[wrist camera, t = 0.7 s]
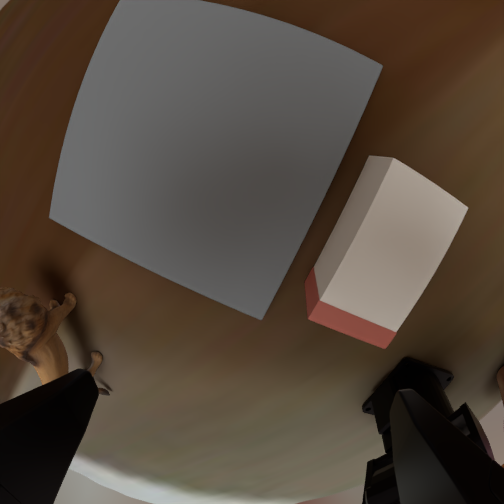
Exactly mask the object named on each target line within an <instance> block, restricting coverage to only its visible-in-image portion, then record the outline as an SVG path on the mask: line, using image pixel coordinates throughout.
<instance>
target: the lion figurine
mask: <svg viewBox="0 0 504 504" xmlns="http://www.w3.org/2000/svg"><path fill="white" fill-rule="evenodd" d="M76 302H77V300H76V297H75V296H74V295H73V294H72V293H68V294H65V301H64V302H63V304H62V305H61V306H60V305H59V303H58V302H57V301H56V300H51V302H50V304H49V305H50V308H51V310H50V311H47V309H46V308H45V307H44V306H43V305H42V304H41V301H40V300H39V298H38V297H35V296H34V295H30V296H28V295H25V294H23V293H22V292H20V291H17V290H15V289H14V288H0V346H1V347H2V348H6V349H7V350H9V351H10V352H11V353H13V354H15V355H16V357H17V358H19V359H21V360H24V361H26V362H30V363H31V364H32V365H33V366H34V368H35V369H36V371H37V373H38V375H39V377H40V379H41V382H42V385H44V384H46V383H48V382H50V381H53V380H55V379H57V378H59V377H61V376H63V375H65V374H68V356H67V353H66V349H65V347H64V345H63V343H62V341H61V339H60V337H59V336H58V334H57V333H56V332H57V330H58V327H59V325H60V323H61V322H62V321H63V319H64V318H65V317H66V316H67V315H68V314H69V313H70V312H71V311H72V309H73V308H74V307H75V305H76ZM91 358H92V363H91V366H90V367H89V368H88V369H87V370H88V371H90V372H91V374H92V376H94V374H95V372H96V370H97V368H98V366H99V365H100V364H101V362H102V355H101V354H100V353H99V352H95V351H94V352H92V353H91ZM98 390H99V394H102V395H108V396H109V395H110V394H109V392H108V391H107V390H106V389H103V388H98Z"/></svg>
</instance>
